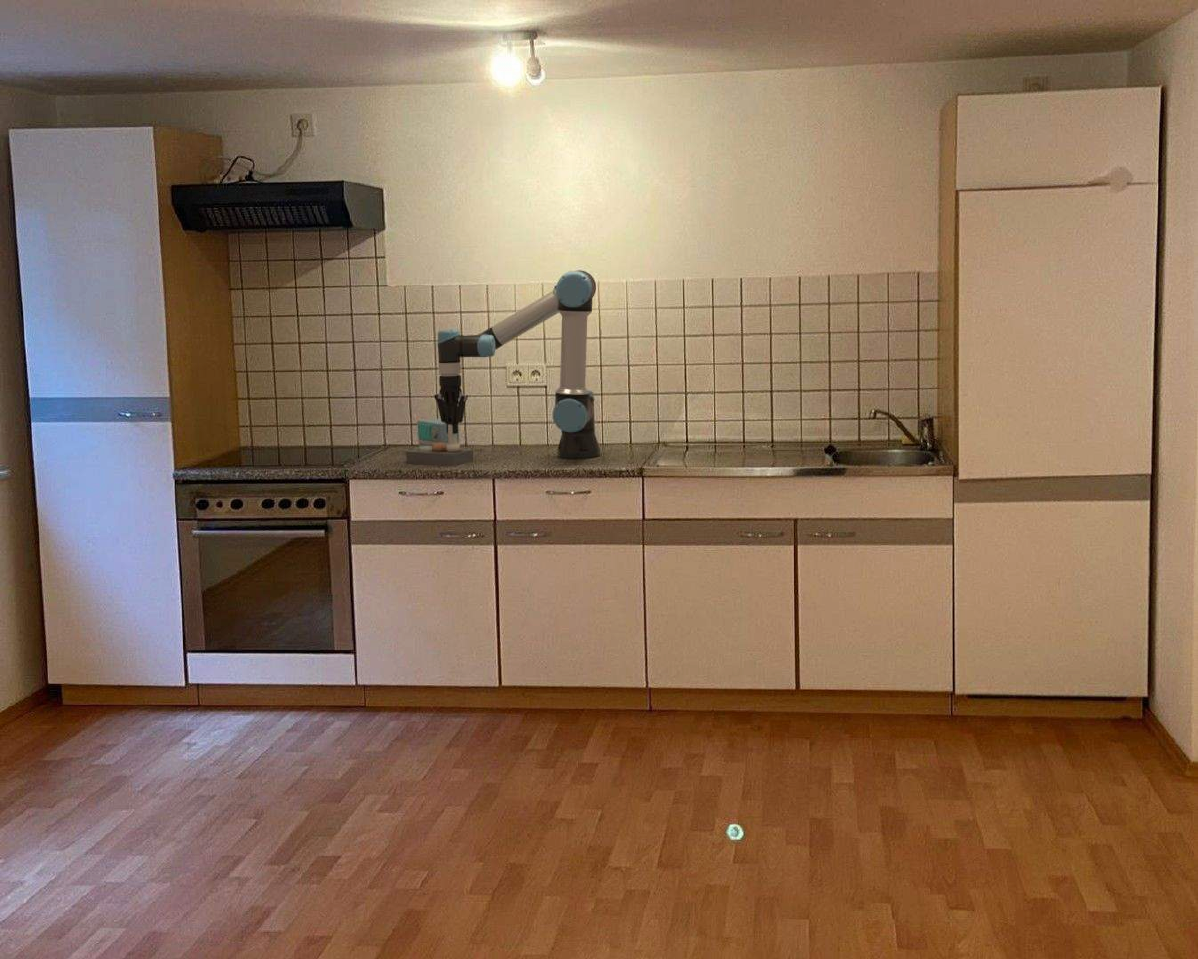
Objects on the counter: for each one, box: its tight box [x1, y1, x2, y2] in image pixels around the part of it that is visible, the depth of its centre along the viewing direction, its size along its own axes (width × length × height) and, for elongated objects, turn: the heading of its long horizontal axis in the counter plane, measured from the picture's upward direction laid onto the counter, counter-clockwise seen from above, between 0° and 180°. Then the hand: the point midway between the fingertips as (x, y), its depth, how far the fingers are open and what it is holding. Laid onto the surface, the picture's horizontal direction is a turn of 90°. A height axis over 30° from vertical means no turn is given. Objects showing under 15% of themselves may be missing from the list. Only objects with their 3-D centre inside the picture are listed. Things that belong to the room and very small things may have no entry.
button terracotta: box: [433, 443, 446, 451], centre depth 510 cm, size 4×4×2 cm
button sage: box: [418, 446, 432, 451], centre depth 514 cm, size 4×4×2 cm
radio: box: [416, 418, 460, 448], centre depth 530 cm, size 16×9×20 cm, turn 37°
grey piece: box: [405, 447, 475, 467], centre depth 511 cm, size 20×12×4 cm, turn 59°
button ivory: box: [447, 442, 461, 452], centre depth 507 cm, size 4×4×2 cm
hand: (452, 442), depth 507 cm, fingers closed
